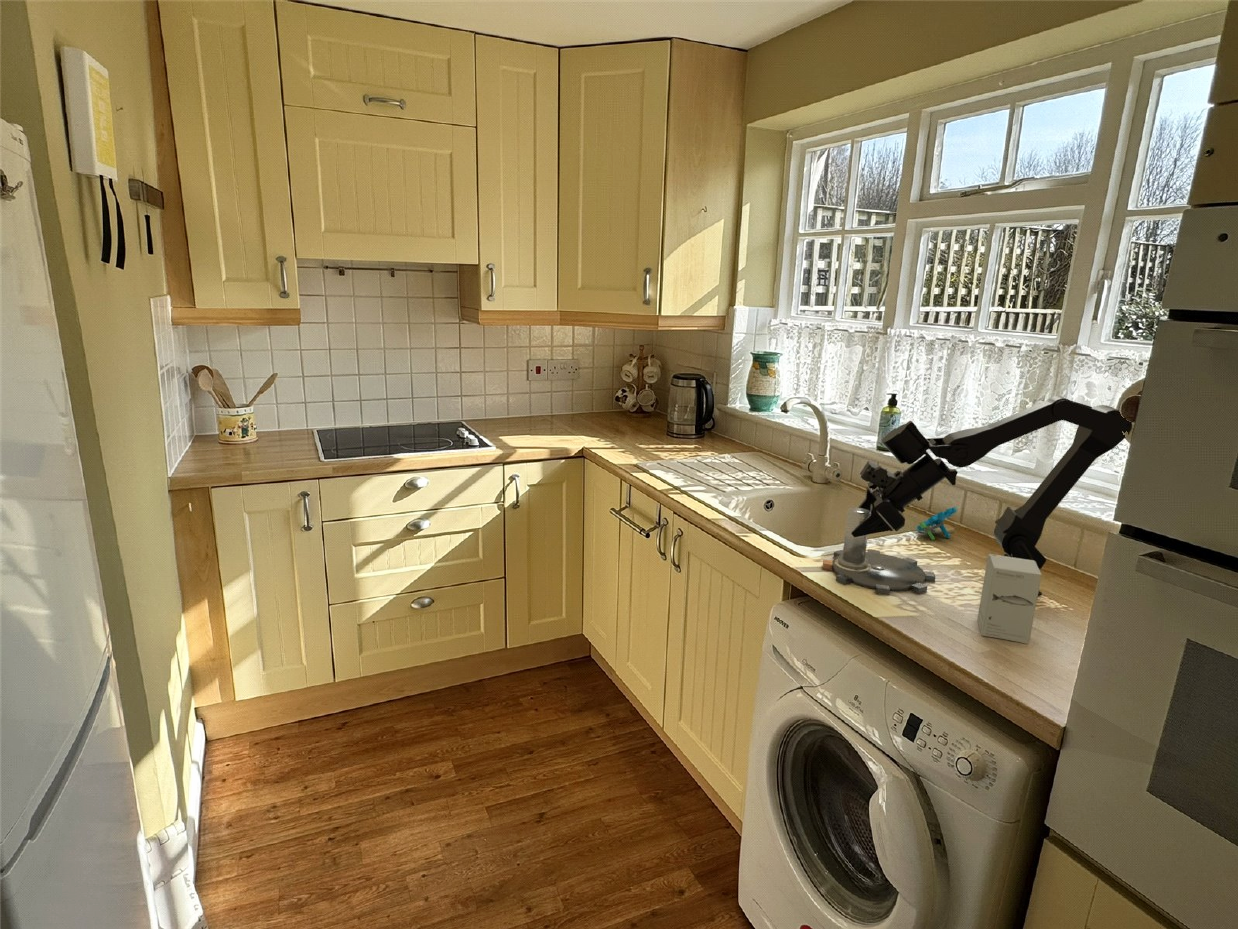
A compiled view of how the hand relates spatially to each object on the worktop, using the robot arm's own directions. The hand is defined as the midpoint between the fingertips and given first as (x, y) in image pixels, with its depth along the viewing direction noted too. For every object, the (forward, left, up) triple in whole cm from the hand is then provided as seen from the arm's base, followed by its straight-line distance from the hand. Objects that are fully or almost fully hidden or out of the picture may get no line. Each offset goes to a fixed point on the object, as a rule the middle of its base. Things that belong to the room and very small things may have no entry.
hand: (851, 528), depth 148 cm
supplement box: (-28, -16, -9) cm, 34 cm away
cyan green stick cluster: (+21, -30, -9) cm, 38 cm away
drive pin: (0, -1, -8) cm, 8 cm away
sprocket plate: (-2, -6, -9) cm, 11 cm away
